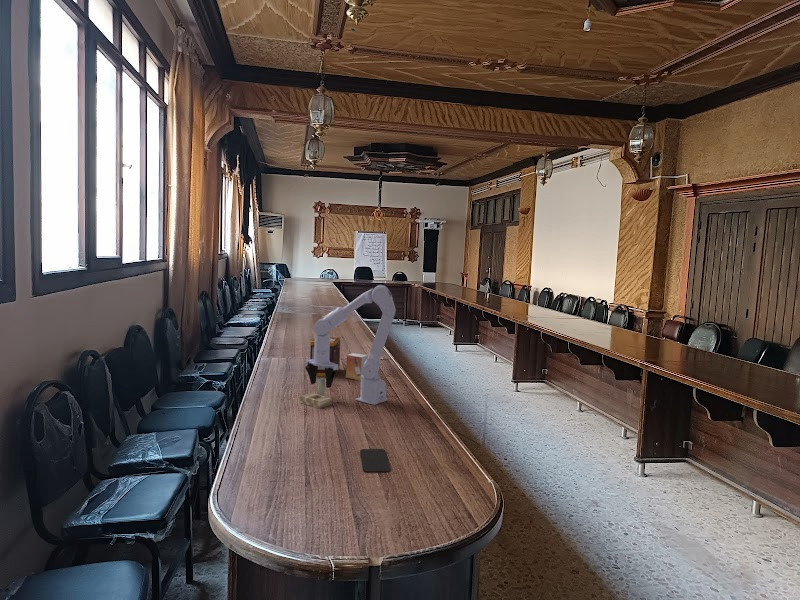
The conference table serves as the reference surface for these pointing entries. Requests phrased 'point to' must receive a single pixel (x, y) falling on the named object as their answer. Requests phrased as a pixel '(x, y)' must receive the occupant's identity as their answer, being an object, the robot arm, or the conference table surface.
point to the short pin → (334, 396)
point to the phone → (374, 460)
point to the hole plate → (315, 400)
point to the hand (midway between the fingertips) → (320, 385)
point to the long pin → (321, 386)
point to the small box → (355, 365)
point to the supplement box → (333, 355)
